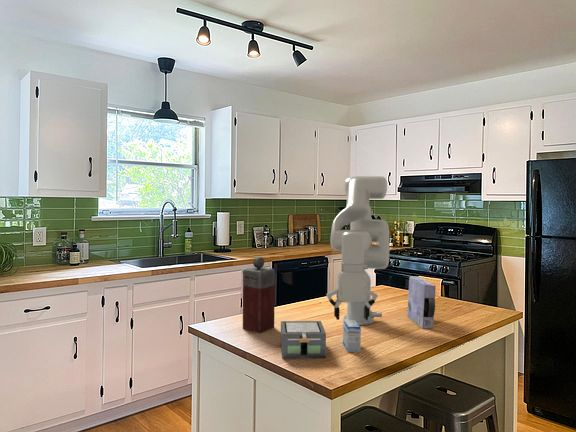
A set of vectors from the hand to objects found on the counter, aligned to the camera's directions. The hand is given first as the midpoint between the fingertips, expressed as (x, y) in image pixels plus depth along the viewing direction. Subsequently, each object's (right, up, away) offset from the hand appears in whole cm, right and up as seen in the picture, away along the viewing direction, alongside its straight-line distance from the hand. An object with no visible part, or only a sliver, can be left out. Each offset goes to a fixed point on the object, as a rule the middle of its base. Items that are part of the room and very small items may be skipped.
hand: (351, 318), depth 149 cm
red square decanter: (-34, -9, +24) cm, 42 cm away
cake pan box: (+33, -9, +32) cm, 47 cm away
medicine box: (0, -11, +1) cm, 11 cm away
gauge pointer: (-16, -5, -10) cm, 20 cm away
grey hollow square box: (-17, -10, -2) cm, 20 cm away
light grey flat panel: (-17, -4, -4) cm, 17 cm away
